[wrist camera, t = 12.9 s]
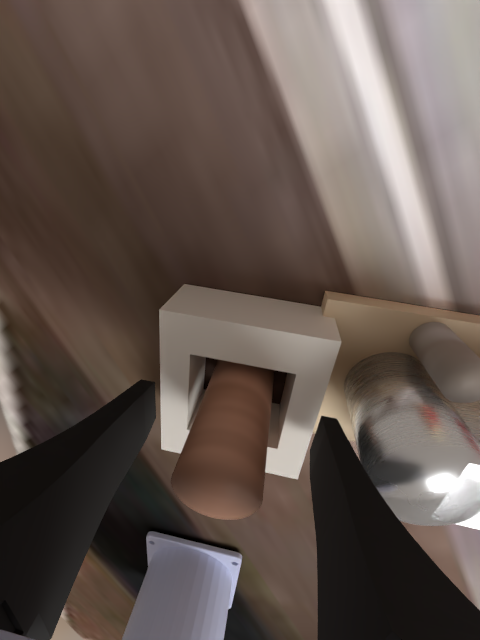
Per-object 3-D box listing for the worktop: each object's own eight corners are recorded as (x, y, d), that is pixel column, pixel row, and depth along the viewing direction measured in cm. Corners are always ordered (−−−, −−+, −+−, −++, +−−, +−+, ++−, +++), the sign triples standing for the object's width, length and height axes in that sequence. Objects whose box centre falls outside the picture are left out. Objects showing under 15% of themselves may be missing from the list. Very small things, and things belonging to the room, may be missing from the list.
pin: (267, 393, 16) (251, 528, 10) (215, 379, 16) (168, 505, 10) (281, 348, 15) (272, 474, 9) (223, 334, 15) (175, 447, 9)
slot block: (296, 431, 17) (297, 479, 14) (181, 407, 18) (161, 449, 15) (332, 308, 13) (341, 341, 11) (184, 283, 14) (159, 309, 11)
